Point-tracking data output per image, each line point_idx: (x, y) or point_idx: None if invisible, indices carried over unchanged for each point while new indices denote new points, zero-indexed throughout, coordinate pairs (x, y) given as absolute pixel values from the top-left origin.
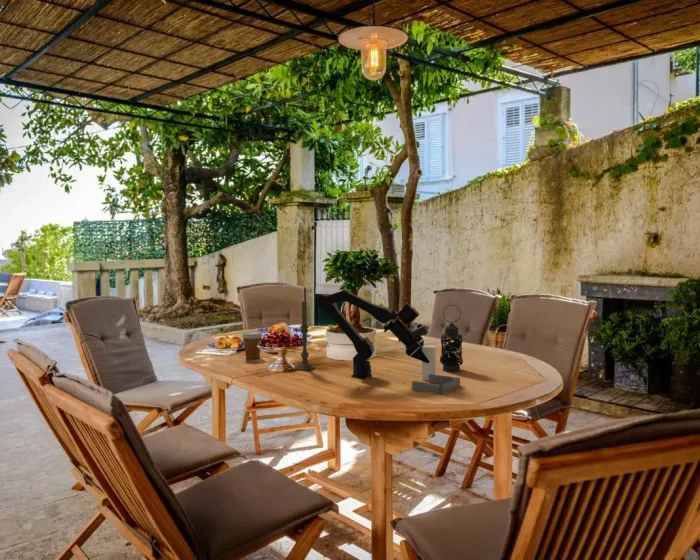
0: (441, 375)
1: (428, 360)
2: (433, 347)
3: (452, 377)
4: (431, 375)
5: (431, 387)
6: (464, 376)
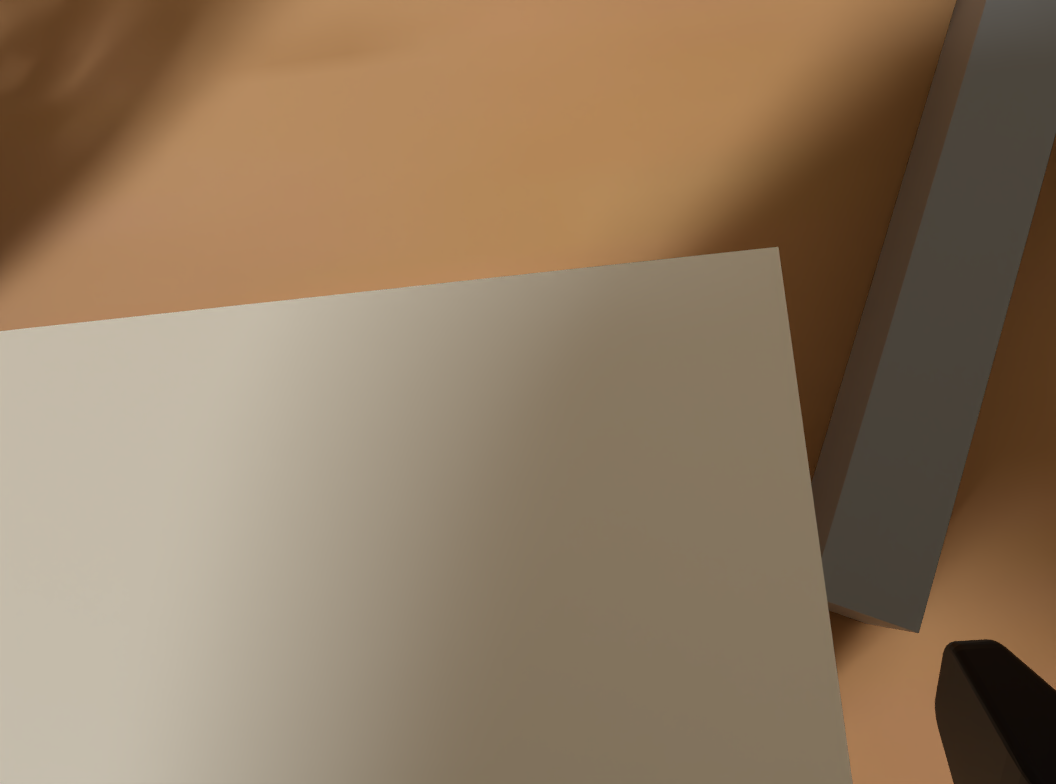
0: (901, 285)
1: (1049, 693)
2: (446, 433)
3: (1033, 7)
4: (937, 548)
5: None
6: (193, 5)
